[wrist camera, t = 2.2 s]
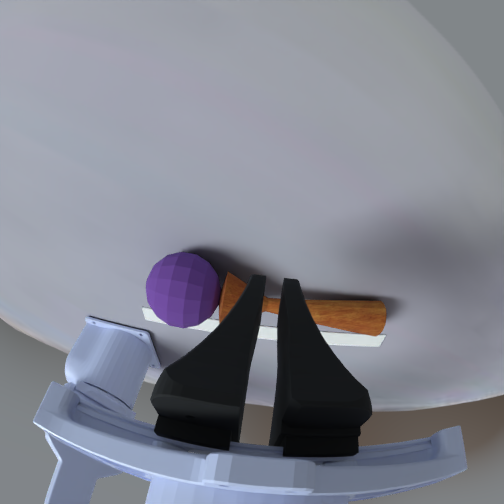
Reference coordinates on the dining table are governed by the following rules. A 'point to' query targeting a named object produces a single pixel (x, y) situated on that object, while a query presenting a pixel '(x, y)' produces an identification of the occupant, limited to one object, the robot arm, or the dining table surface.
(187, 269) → the kendama
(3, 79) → the dining table surface
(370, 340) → the strip
